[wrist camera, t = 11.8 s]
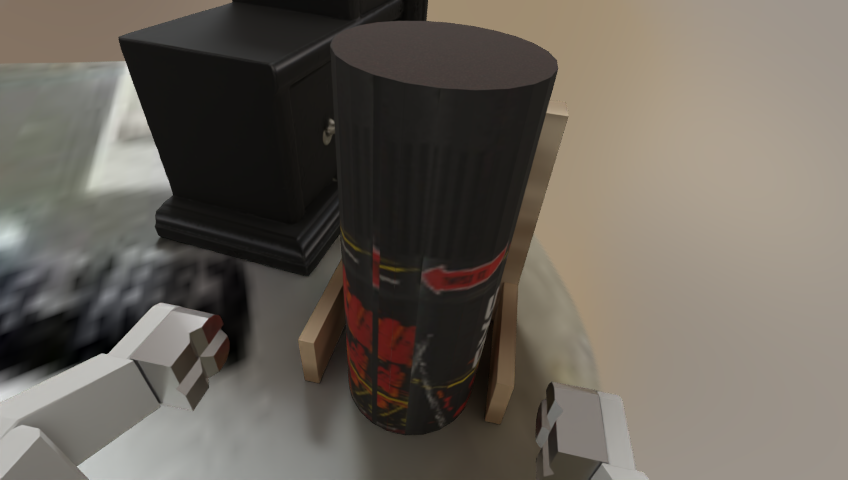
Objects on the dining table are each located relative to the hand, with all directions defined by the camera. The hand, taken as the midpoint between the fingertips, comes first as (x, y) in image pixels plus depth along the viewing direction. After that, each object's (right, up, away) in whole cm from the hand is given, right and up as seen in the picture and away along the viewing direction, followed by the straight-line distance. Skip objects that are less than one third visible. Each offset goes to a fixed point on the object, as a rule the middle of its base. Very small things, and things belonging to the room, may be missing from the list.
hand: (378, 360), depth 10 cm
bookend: (-8, +8, +25) cm, 27 cm away
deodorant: (0, -4, +10) cm, 11 cm away
